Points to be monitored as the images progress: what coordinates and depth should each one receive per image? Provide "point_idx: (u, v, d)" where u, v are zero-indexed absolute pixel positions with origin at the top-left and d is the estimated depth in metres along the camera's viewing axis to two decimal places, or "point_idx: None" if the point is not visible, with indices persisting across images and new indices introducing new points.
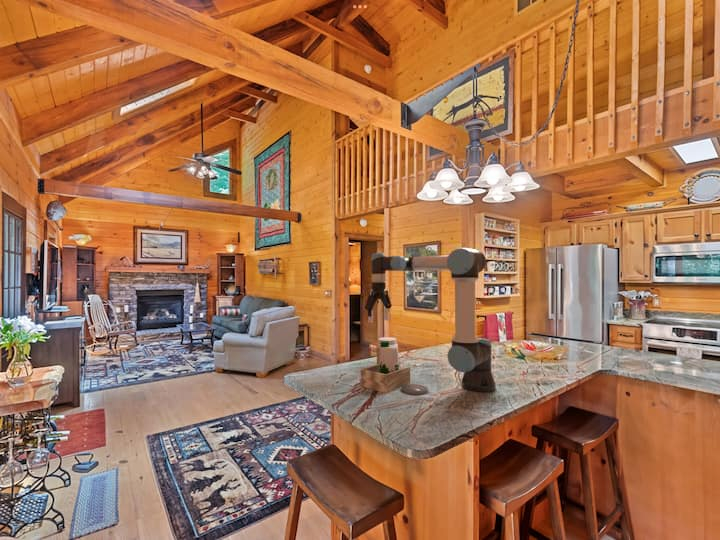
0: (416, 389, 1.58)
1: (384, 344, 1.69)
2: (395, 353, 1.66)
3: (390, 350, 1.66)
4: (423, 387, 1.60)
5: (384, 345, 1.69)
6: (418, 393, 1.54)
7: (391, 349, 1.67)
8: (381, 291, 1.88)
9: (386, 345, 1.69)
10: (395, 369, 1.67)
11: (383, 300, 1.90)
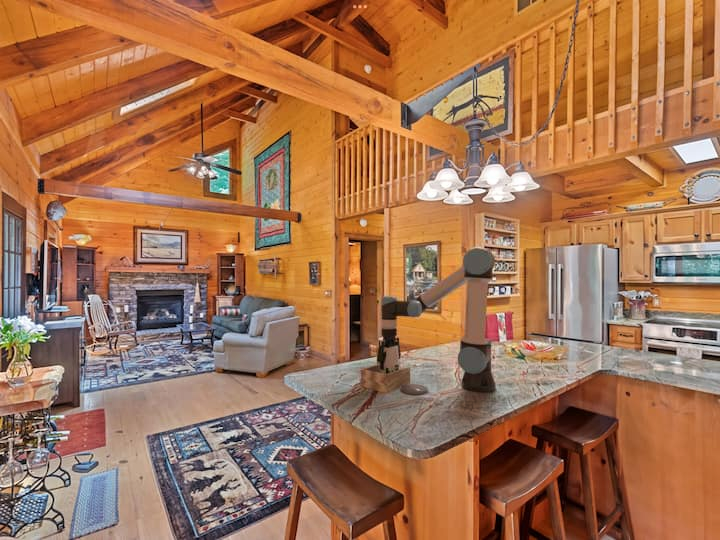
0: (416, 389, 1.58)
1: None
2: (395, 352, 1.66)
3: (390, 350, 1.66)
4: (423, 387, 1.60)
5: (384, 345, 1.69)
6: (418, 393, 1.54)
7: (391, 349, 1.67)
8: (392, 337, 1.71)
9: None
10: (395, 369, 1.67)
11: None
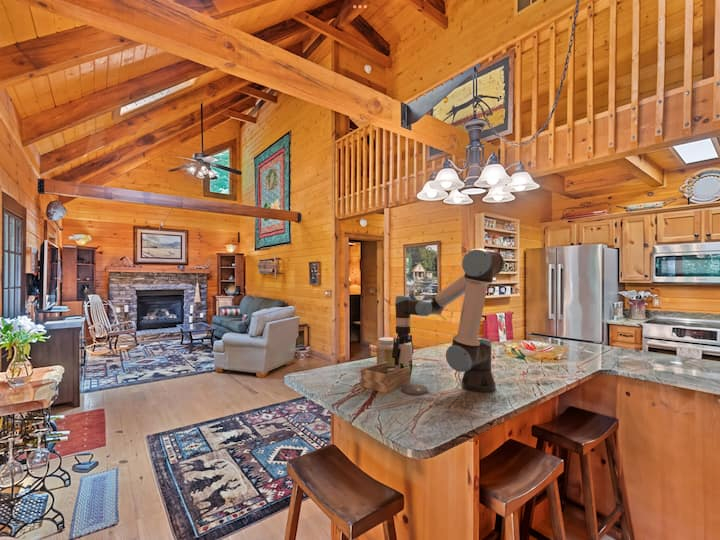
0: (416, 389, 1.58)
1: None
2: (409, 349, 1.75)
3: (404, 346, 1.75)
4: (423, 387, 1.60)
5: None
6: (418, 393, 1.54)
7: (405, 345, 1.75)
8: (406, 334, 1.79)
9: None
10: (409, 364, 1.75)
11: None
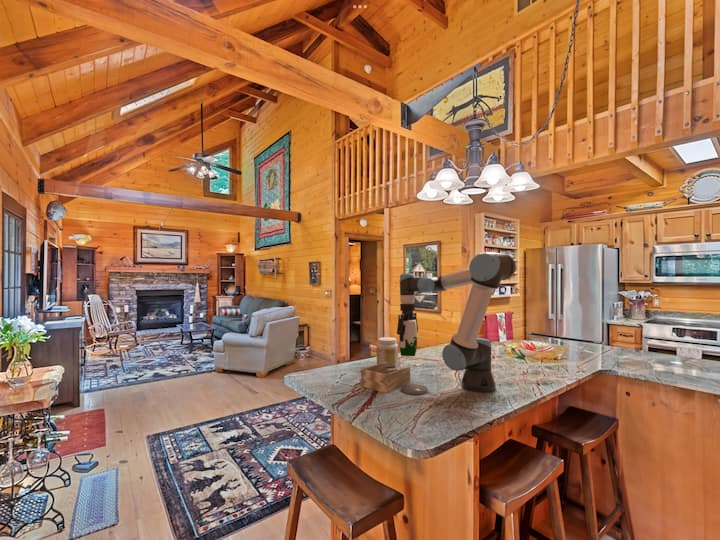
0: (416, 389, 1.58)
1: None
2: (414, 325, 1.78)
3: (409, 323, 1.78)
4: (423, 387, 1.60)
5: None
6: (418, 393, 1.54)
7: (410, 322, 1.79)
8: (410, 312, 1.83)
9: None
10: (414, 341, 1.79)
11: None
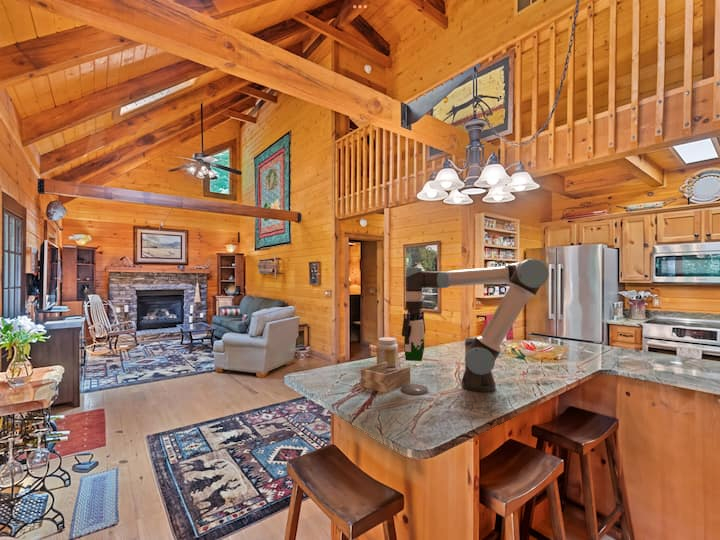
0: (416, 389, 1.58)
1: None
2: (421, 326, 1.56)
3: (416, 323, 1.56)
4: (423, 387, 1.60)
5: None
6: (418, 393, 1.54)
7: (416, 322, 1.56)
8: (417, 310, 1.60)
9: None
10: (421, 344, 1.56)
11: None
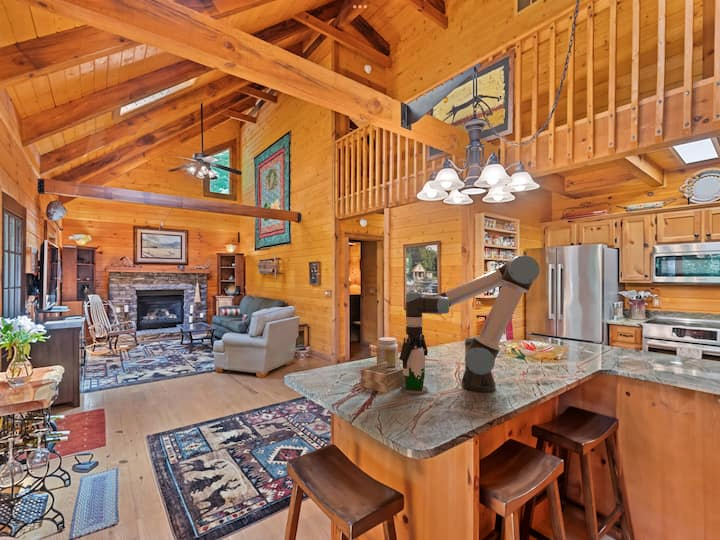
0: None
1: None
2: (421, 355, 1.56)
3: (416, 353, 1.56)
4: (423, 387, 1.60)
5: None
6: (418, 393, 1.54)
7: (417, 351, 1.56)
8: (417, 337, 1.60)
9: None
10: (421, 373, 1.56)
11: (419, 346, 1.62)
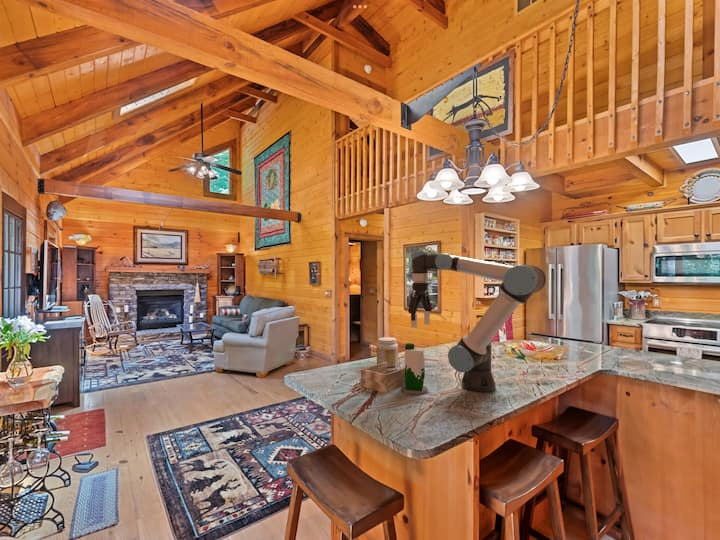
0: None
1: (409, 346, 1.58)
2: (421, 355, 1.56)
3: (416, 353, 1.56)
4: (423, 387, 1.60)
5: (409, 347, 1.58)
6: (418, 393, 1.54)
7: (417, 351, 1.56)
8: (423, 292, 1.71)
9: (411, 347, 1.58)
10: (421, 373, 1.56)
11: (424, 302, 1.73)
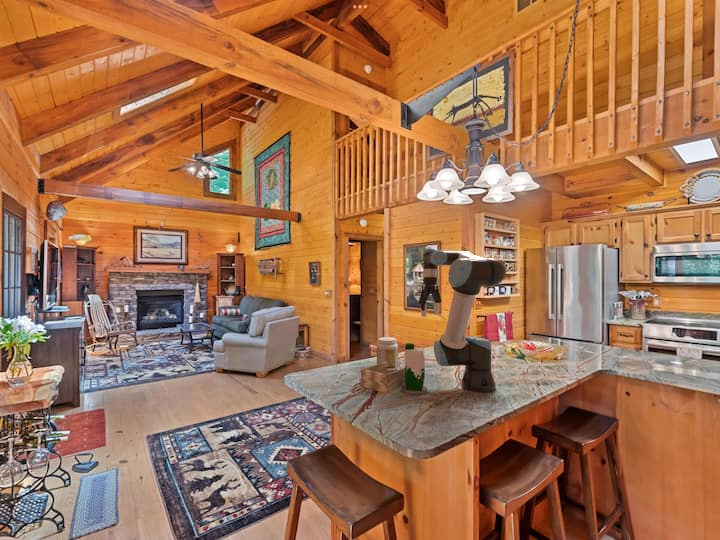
0: None
1: (409, 346, 1.58)
2: (421, 355, 1.56)
3: (416, 353, 1.56)
4: (423, 387, 1.60)
5: (409, 347, 1.58)
6: (418, 393, 1.54)
7: (417, 351, 1.56)
8: (433, 286, 1.91)
9: (411, 347, 1.58)
10: (421, 373, 1.56)
11: (434, 295, 1.93)
